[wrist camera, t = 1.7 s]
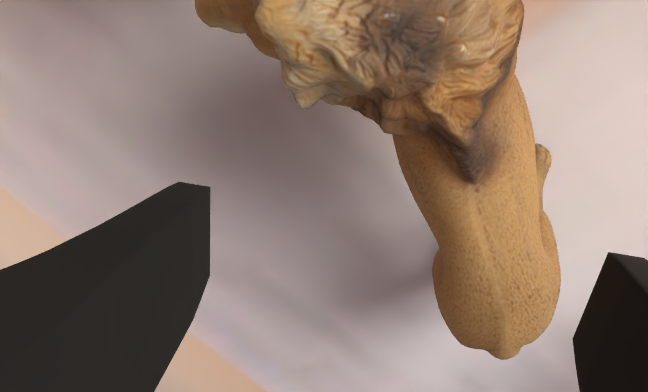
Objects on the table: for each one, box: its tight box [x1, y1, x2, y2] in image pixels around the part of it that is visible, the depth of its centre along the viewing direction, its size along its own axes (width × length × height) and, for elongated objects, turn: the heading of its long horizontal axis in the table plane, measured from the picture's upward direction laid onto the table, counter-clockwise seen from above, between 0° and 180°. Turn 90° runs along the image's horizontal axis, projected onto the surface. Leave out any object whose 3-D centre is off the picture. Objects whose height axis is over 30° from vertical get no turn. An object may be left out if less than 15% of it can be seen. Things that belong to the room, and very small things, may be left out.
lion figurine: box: [195, 0, 561, 360], centre depth 15 cm, size 15×5×9 cm, turn 30°
